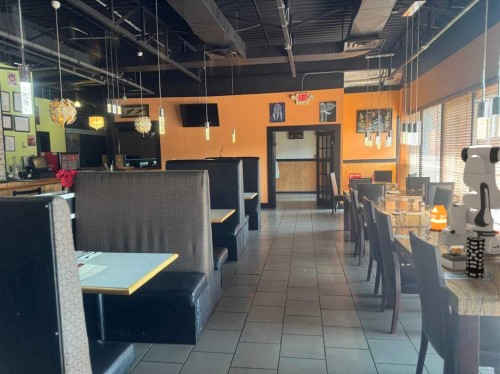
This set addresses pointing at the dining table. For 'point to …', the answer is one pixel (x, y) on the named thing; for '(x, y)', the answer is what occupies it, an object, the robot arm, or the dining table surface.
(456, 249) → the plug
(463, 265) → the bay
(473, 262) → the white-spotted black cylinder
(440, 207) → the orange juice
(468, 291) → the dining table surface
